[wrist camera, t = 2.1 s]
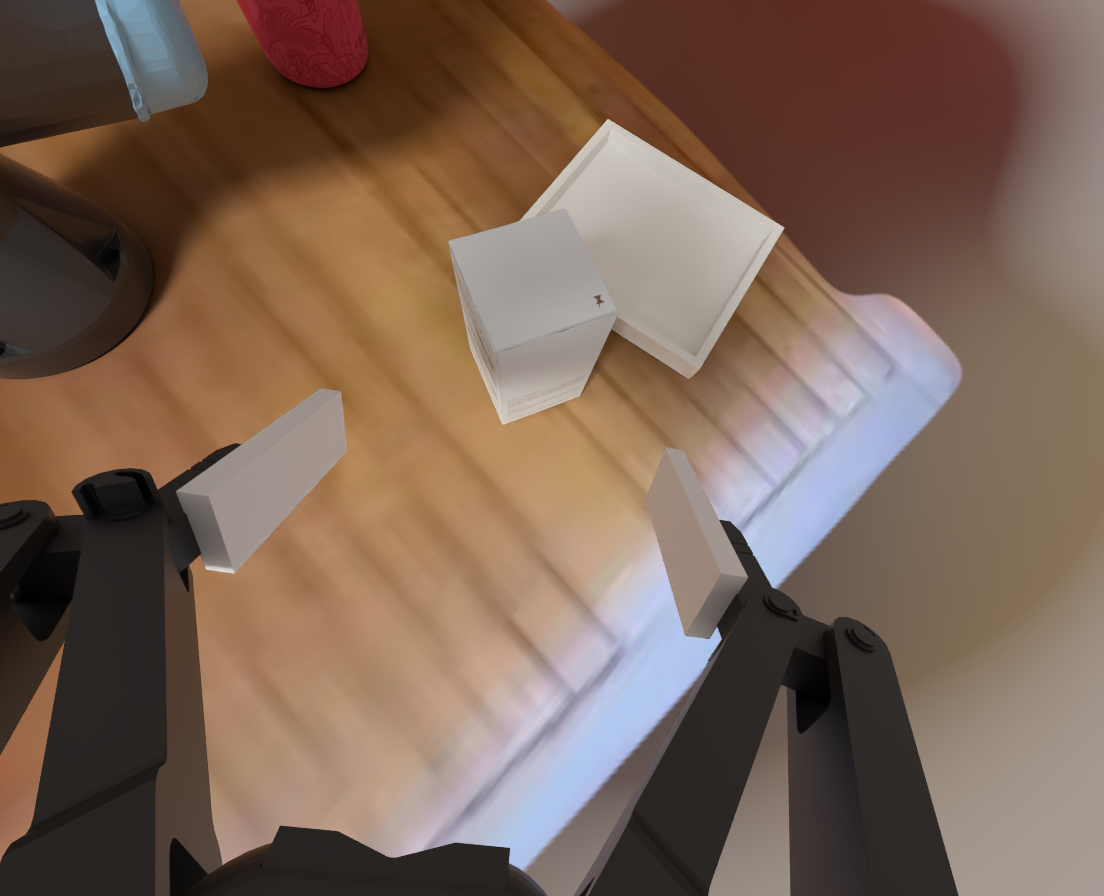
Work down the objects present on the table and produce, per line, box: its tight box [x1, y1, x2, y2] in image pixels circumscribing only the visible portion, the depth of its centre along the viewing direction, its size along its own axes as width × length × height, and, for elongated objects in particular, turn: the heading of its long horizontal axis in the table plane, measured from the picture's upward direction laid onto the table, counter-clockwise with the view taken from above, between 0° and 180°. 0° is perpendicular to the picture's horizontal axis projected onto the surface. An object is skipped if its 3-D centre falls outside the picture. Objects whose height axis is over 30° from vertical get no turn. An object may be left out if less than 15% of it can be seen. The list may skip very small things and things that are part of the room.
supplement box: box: [448, 209, 619, 425], centre depth 27 cm, size 7×7×13 cm
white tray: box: [520, 119, 784, 379], centre depth 36 cm, size 20×18×2 cm
